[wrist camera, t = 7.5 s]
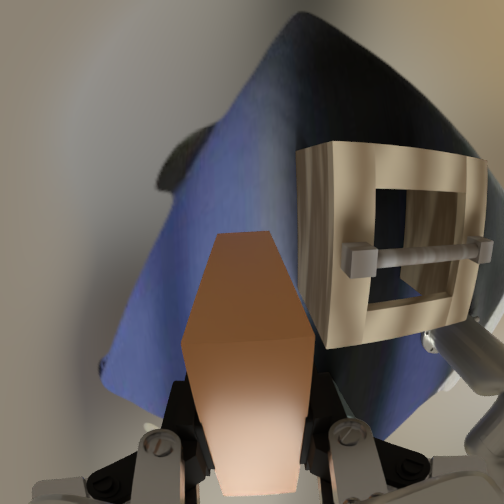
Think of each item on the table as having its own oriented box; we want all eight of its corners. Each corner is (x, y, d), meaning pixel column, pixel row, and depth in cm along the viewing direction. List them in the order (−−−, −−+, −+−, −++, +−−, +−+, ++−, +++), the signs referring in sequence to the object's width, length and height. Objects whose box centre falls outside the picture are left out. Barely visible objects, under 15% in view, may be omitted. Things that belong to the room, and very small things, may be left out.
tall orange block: (269, 230, 17) (314, 335, 6) (272, 351, 19) (295, 492, 8) (217, 233, 17) (181, 343, 6) (229, 354, 19) (223, 496, 8)
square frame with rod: (416, 157, 38) (502, 161, 20) (409, 276, 43) (476, 329, 26) (295, 151, 37) (342, 138, 19) (297, 287, 43) (332, 364, 25)
